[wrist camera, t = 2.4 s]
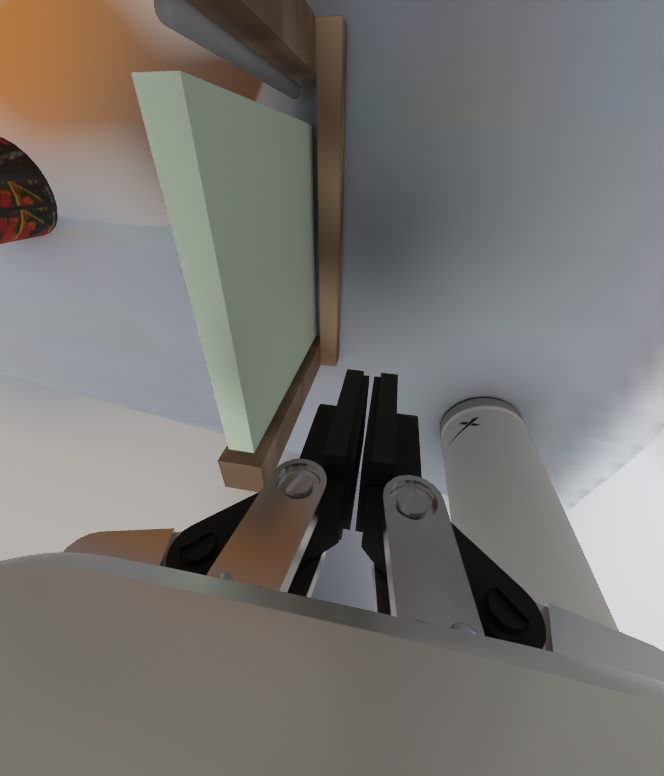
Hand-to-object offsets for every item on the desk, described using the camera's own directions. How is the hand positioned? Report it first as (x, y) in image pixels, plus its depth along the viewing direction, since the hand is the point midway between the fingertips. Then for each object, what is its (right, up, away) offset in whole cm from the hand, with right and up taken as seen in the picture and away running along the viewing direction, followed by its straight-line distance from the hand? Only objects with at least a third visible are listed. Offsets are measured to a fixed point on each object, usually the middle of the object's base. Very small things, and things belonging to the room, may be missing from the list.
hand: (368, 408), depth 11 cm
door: (-3, +10, +9) cm, 14 cm away
